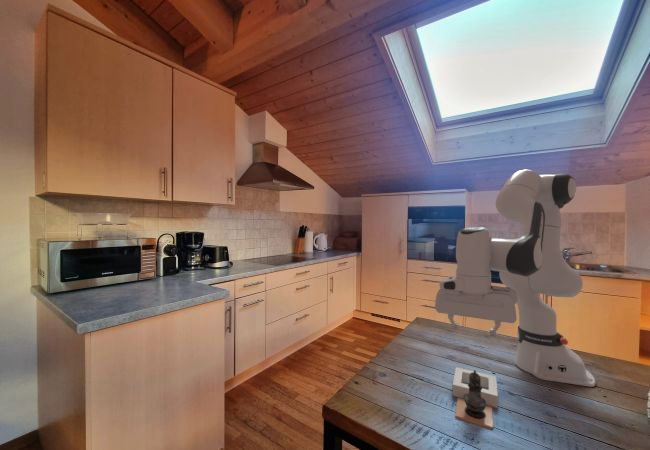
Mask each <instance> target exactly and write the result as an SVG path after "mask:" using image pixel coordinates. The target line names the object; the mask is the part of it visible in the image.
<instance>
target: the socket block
mask: <svg viewBox="0 0 650 450" xmlns="http://www.w3.org/2000/svg"><path fill="white" fill-rule="evenodd" d="M473 372H474V370H470V369H465V368H462V367H457V366H456V367H455V371H454V374H453V375H454V376H453V382H452V396H454V397H457V398H461V399H464V398H463V396H464V395H465V394H469V387H468V384H469V374H470V373H473ZM476 373H477V374H479V376H480V378H481V387H482V390H481V397H482V398H484V399H485V400H486V402H487V405H486V406H489V407H492V408H495V409H496V408H497V409H498V408H499V400H498V399H499V398H498V397H499V395H498V394H499V393H498V385H497V375H496V376H495V375H492V374H489V373H488V374H487V373H482V372H478V371H476Z"/></svg>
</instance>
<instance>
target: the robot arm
mask: <svg viewBox="0 0 650 450" xmlns="http://www.w3.org/2000/svg"><path fill="white" fill-rule="evenodd" d="M576 191H577V184H576V181H575V178H574V177H572V176H571V174H568V173H556V174H539V173H537V171H534V170H532V169H522V170H518V171H516V172H514V173H513V174H512V175H511V176H510V177H509V178H508V179H507V180H506V182H505V183H504V184H503V185H502V187H501V189H500V191H499V192H498V194H497V196H496V199H495V208H496V209H497V212H498V213H499V214H500V215H501V216H502V217H504V219H507V220H509V221H511V222H515V223H521V224H522V225H523V230H522V236H520V237H518V238H496V237H495V238H494V237H493V236H490V233H489V230H488V228H487V227H483V226H473V227H465V228H461V229H460V230H459V231H458V232H457V233H458V234H457V237H456V247H455V259H456V264H457V266H456V271H455V276H450V277H444V278H441V280H440V281H439V289H438V291H437V292H436V294H435V295H436V296H435V303H434V310H435V311H436V312H437V313H439V314H447V318H448V320H449V322H450V323H451V324H452V326H451V328H452V330H454V331H458V330H459V323H458V322H456V321H455V319H454V316H459V317H465V318H472V319H480V320H487V321H493V322H494V325H493V328H492V327H489V336H490V337H495V338H496V337H497V331H498V330H499V328H500V327H502V323H508V324H515V323H516V321H517V319H518V321H519V322H518V323H519V325H518V326H517V342H518V345H517V351H516V355H515V358H514V364H515V365H516V366H517V367H518V368H519V369H521V370H523V371H525V372H527V373H529V374H531V375H533V376H534V377H536V378H537V379H540V380H544V381H549V382H555V383H556V382H558V383H561V384H563V383H564V384H571V385H578V386H583V387H590V388H592V387H595V386H596V379H595V377H594V375H593V374H592V373H591V372H590V371H589V370H587V369H586V365H585V363H584V361H583V360H582V358H581V357H580V356H579V354H577V353H576V352H574V351H573V350H572V349H570V348H569V347H568V346H567V345H568V344H569V341H568V340H567V338H566V337H564V336H563V335H562V334H561V333H560V332H558V331H557V312H556V311H555V309H554V308H553V306H550V305H549V304H547V303H546V302H545V301H544V300H543V299H542V298H541V296H540V295H543V296H544V295H545V296H549V297H555V298H574V297H576V296H577V295H579V294H580V293H581V291H582V290H583V287H584V286H583V283H584V282H583V279H582V276H581V275H580V273H579V272H578V271H577V270H576V269H574V268H573V267H571V266H570V265H569V264H568V262H567V261H566V260H565V259H564V256H563V255H562V251H561V227H562V225H561V224H562V222H561V221H562V218H561V210H560V209H563V208H564V206H565V205H567V204H569V203H570V202H571V201H572V200H573V199H574V197H575V194H576ZM491 271H493V272H499V279H500V281H501V283H502V284H503V285H504V286H497V285H492V272H491ZM516 305H517V308H518V317H517V308H516Z"/></svg>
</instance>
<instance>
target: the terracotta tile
mask: <svg viewBox="0 0 650 450" xmlns="http://www.w3.org/2000/svg"><path fill="white" fill-rule="evenodd" d="M455 407H456V410H455V415H454V418H456V419H458V420H461V421H466V422H468V423H471V424H475V425H477V426H480V427H484V428H487V429H490V430H494V421H493V420H494V419H493V407H492V406H489V405H486V407H485V409H484V410H483V411H484V412H485V414H486V417H485V418H484V419H476V418H473V417H471V416H469V415H468V414H467V413H466V412H465V407H466V404H465V400H464V398H460V397H457V401H456V406H455Z"/></svg>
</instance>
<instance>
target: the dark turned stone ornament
mask: <svg viewBox="0 0 650 450" xmlns="http://www.w3.org/2000/svg"><path fill="white" fill-rule="evenodd" d="M473 371H474V372H473V373H470V374H469V383H467V384H468V387H469V394H465V395H464V396H463V398H462V399H464V400H465V404H466V407H465V412H466V413H467V414H468V415H469V416H471V417H473V418H476V419H484V418H485V417H486V414H485V412H484V411H483V410H484V409H485V407H486V406H488V405H487V402H486V400H485V399H484V398H482V397H481V390H482V388H483V387H481V378H480V376H479V374H477V373H476V372H477V371H476V370H475V369H474V370H473Z"/></svg>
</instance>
